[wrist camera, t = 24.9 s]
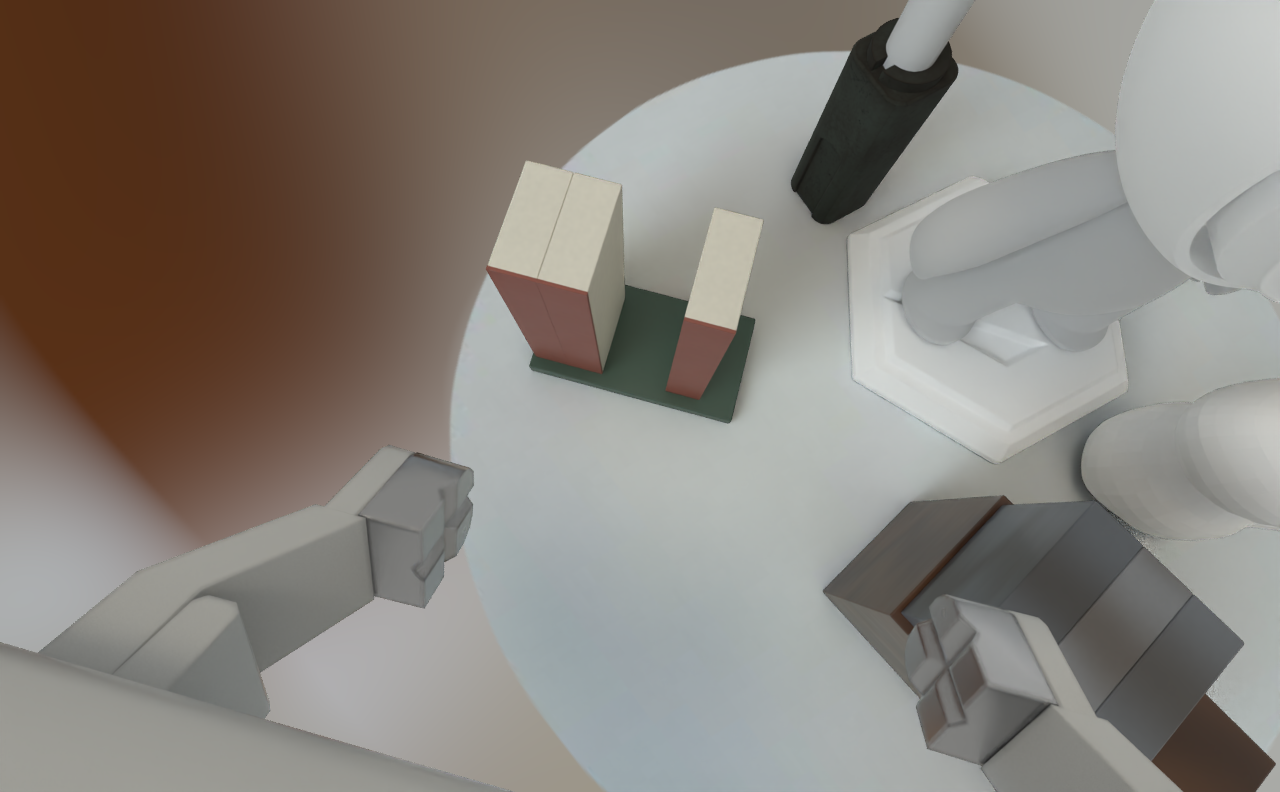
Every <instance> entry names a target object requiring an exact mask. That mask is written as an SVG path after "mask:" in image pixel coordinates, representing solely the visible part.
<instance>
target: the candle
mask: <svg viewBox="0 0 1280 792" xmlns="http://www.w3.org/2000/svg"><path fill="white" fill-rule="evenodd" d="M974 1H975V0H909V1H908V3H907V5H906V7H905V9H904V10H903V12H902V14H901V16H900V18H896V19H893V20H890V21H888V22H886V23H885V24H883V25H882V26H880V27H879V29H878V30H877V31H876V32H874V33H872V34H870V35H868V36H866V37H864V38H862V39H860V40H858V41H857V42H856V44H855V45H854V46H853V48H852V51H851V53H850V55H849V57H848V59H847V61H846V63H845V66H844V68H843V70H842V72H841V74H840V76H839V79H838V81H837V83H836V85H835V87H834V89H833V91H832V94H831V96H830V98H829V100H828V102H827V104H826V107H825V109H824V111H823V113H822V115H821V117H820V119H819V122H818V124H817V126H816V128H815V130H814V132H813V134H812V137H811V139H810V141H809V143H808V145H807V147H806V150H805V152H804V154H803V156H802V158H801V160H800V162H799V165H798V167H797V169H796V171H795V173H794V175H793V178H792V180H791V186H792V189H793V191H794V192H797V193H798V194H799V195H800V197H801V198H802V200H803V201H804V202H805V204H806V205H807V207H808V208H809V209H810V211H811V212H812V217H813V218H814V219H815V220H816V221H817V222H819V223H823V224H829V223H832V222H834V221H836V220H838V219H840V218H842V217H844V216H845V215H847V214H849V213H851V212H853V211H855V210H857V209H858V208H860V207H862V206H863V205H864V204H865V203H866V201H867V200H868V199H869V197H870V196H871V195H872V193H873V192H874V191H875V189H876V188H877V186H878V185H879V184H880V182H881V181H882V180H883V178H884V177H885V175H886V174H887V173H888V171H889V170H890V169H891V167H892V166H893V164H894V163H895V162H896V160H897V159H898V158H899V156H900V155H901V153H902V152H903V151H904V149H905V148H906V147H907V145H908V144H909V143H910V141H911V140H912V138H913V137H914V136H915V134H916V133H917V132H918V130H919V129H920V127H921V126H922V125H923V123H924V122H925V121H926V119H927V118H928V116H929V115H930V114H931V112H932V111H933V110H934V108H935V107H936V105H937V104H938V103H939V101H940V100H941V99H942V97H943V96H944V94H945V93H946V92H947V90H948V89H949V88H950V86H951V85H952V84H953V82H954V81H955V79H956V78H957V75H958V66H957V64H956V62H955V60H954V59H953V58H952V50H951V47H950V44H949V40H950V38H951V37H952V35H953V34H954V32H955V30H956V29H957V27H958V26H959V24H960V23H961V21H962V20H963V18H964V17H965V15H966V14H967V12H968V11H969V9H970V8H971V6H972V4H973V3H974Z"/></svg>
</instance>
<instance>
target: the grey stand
mask: <svg viewBox="0 0 1280 792" xmlns="http://www.w3.org/2000/svg"><path fill="white" fill-rule="evenodd" d="M823 593H824V594H825V595H826V596H827V597H828V598H829V599H830V600H831V601H832V602H833V604H834V605H835V606H836V607H837V608H838V609H839V610H840V611H841V612H842V613H843V615H844V616H845V617H846V618H847V619H848V620H849V621H850V622H851V623H852V624H853V626H854V627H855V628H856V629H857V630H858V631H859V632H860V633H861V634H862V635H863V637H864V638H865V639H866V640H867V641H868V642H869V643H870V644H871V645H872V646H873V647H874V649H875V650H876V651H877V652H878V653H879V654H880V655H881V656H882V657H883V658H884V660H885V661H886V662H887V663H888V664H889V665H890V666H891V667H892V668H893V669H894V671H895V672H896V673H897V674H898V675H899V676H900V677H901V678H902V679H903V680H904V682H905V683H906V684H907V685H908V686H909V687H910V688H911V689H912V690H913V691H914V692H915V694H916V695H917V696H918V697H919V698H921V696H922V695H921V694H920V693H919V692H918V691H917V689H916V688H915V687H914V686H913V684H912V683H911V682H910V681H909V678H908V674H907V670H906V666H905V648H906V643H907V639H908V636H909V634H910V633H911V631H912V630H913V628H914V627H915V625H916V624H917V623H919V622H922V621H925V620H927V619H930V618H932V617H931V613H930V610H929V606H930V605H931V604H932V603H933V601H934V600H935V599H936V598H937V597H939V596H941V595H943V594H947V595H951V596H955V597H959V598H963V599H967V600H970V601H974V602H978V603H982V604H986V605H990V606H994V607H998V608H1001V609H1004V610H1010V611H1014V612H1018V613H1022V614H1026V615H1030V616H1034V617H1038V618H1039V619H1041V620H1042V621H1043V622H1044V623H1045V624H1046V625H1047V626H1048V628H1049V630H1050V632H1051V633H1052V635H1053V637H1054V639H1055V641H1056V643H1057V645H1058V646H1059V648H1060V650H1061V652H1062V654H1063V656H1064V657H1065V659H1066V661H1067V663H1068V665H1069V667H1070V669H1071V670H1072V672H1073V674H1074V676H1075V678H1076V680H1077V681H1078V683H1079V685H1080V687H1081V689H1082V691H1083V692H1084V694H1085V696H1086V698H1087V700H1088V702H1089V704H1090V705H1091V707H1092V709H1093V711H1094V713H1095V715H1096V716H1097V717H1098V718H1102V719H1105V720H1108V721H1109V722H1110V723H1111V724H1112V725H1113V726H1114V727H1115V728H1116V729H1117V730H1118V731H1119V732H1120V733H1121V734H1122V735H1124V736H1125V737H1126V738H1127V739H1128V740H1129V741H1130V742H1131V743H1132V744H1133V745H1134V746H1135V747H1136V748H1137V749H1138V750H1139V751H1141V752H1142V753H1143V754H1144V755H1145V756H1146V757H1147V758H1148V759H1149V760H1150V761H1151V762H1152V763H1153V764H1154V765H1155V766H1156V767H1158V768H1159V769H1160V770H1161V771H1162V772H1163V773H1164V774H1165V775H1166V776H1167V777H1168V778H1169V779H1170V780H1171V781H1172V782H1173V783H1174V784H1176V785H1177V786H1178V787H1179V788H1180V789H1181V790H1182V791H1183V792H1256V790H1257V789H1258V788H1259V787H1260V785H1261V784H1262V783H1263V781H1264V780H1265V778H1266V777H1267V776H1268V774H1269V773H1270V772H1271V770H1272V769H1273V768H1274V766H1275V765H1276V763H1275V762H1274V761H1273V760H1272V759H1271V758H1270V757H1269V756H1268V755H1267V754H1266V753H1265V752H1264V751H1263V750H1262V749H1261V748H1260V747H1259V746H1258V745H1257V744H1256V743H1255V742H1254V741H1253V740H1252V739H1251V738H1250V737H1249V736H1248V735H1247V734H1246V733H1245V732H1244V731H1243V730H1242V729H1241V728H1240V727H1239V726H1238V725H1237V724H1236V723H1235V722H1234V721H1232V720H1231V719H1230V718H1229V717H1228V716H1227V715H1226V714H1225V713H1224V712H1223V711H1222V710H1221V709H1220V708H1219V707H1218V706H1217V705H1216V704H1215V703H1214V702H1213V701H1212V700H1211V699H1210V698H1209V697H1208V696H1207V695H1206V694H1205V693H1206V692H1207V691H1208V689H1209V688H1210V687H1211V685H1212V684H1213V683H1214V682H1215V680H1216V679H1217V678H1218V677H1219V675H1220V674H1221V673H1222V672H1223V670H1224V669H1225V668H1226V667H1227V665H1228V664H1229V663H1230V662H1231V660H1232V659H1233V658H1234V656H1235V655H1236V654H1237V653H1238V651H1239V650H1240V649H1241V648H1242V646H1243V645H1244V642H1243V641H1242V640H1241V639H1240V638H1239V637H1238V636H1237V635H1236V634H1235V633H1234V632H1233V631H1232V630H1231V629H1230V628H1229V627H1228V626H1227V625H1225V624H1224V623H1223V622H1222V621H1221V620H1220V619H1219V618H1218V617H1217V616H1216V615H1215V614H1214V613H1213V612H1212V611H1211V610H1210V609H1209V608H1208V607H1207V606H1206V605H1205V604H1204V603H1202V602H1201V601H1200V600H1199V599H1198V598H1197V597H1196V596H1195V595H1192V592H1191V591H1190V590H1189V589H1188V588H1187V587H1186V586H1185V585H1184V584H1183V583H1182V582H1180V581H1179V580H1178V579H1177V578H1176V577H1175V576H1174V575H1173V574H1172V573H1171V572H1170V571H1169V570H1168V569H1167V568H1166V567H1165V566H1164V565H1163V564H1162V563H1161V562H1160V561H1159V560H1157V559H1156V558H1155V557H1154V556H1153V555H1152V554H1151V553H1150V552H1149V551H1148V550H1147V549H1146V548H1144V547H1143V545H1142V544H1141V543H1140V542H1139V541H1138V540H1137V539H1136V538H1135V537H1134V536H1132V535H1131V534H1130V533H1129V532H1128V531H1127V530H1126V529H1125V528H1124V527H1123V526H1122V525H1121V524H1120V523H1119V522H1118V521H1117V520H1116V519H1115V518H1114V517H1113V516H1112V515H1110V514H1109V513H1108V512H1107V511H1106V510H1105V509H1104V508H1103V507H1102V506H1101V505H1100V504H1099V503H1098V502H1097V501H1079V502H1058V503H1037V504H1017V505H1014V504H1012V503H1011V502H1010V501H1009V500H1008V499H1007V498H1006V497H1005V496H1004V495H1001V496H987V497H974V498H960V499H947V500H933V501H920V502H910V503H909V504H908V505H907V506H906V507H905V508H904V509H903V510H902V511H901V512H900V513H899V514H898V515H897V516H896V517H895V518H894V519H893V520H892V521H891V522H890V523H889V524H888V525H887V526H886V527H885V528H884V529H883V530H882V531H881V533H880V534H879V535H878V536H877V537H876V538H875V539H874V540H873V541H872V542H871V543H870V544H869V545H868V546H867V547H866V548H865V549H864V550H863V551H862V552H861V553H860V554H859V555H858V556H857V557H856V558H855V559H854V560H853V561H852V562H851V563H850V564H849V565H848V566H847V567H846V568H845V569H844V570H843V571H842V572H841V573H840V574H839V575H838V576H837V577H836V578H835V579H834V580H833V581H832V582H831V583H830V584H829V585H828V586H827V587H826V588H825V589H824V590H823ZM981 766H982V765H981Z"/></svg>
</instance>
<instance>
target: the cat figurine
mask: <svg viewBox="0 0 1280 792" xmlns="http://www.w3.org/2000/svg"><path fill="white" fill-rule="evenodd" d="M1081 473H1082V479H1083V481H1084V483H1085V485H1086V488H1087V489H1088V490H1089V491H1090V493H1091V494H1092V495H1093V496H1094V497H1095V498H1096V499H1097V500H1098V501H1099V502H1100V503H1101V504H1103V505H1104V506H1105V507H1106V508H1107V509H1109V510H1110V511H1111V512H1113V513H1114V514H1116V515H1117V516H1118V517H1120V518H1121V519H1122V520H1124V521H1125V522H1126V523H1128V524H1129V525H1130V526H1132V527H1134V528H1136V529H1137V530H1139V531H1141V532H1143V533H1146V534H1149V535H1153V536H1157V537H1160V538H1164V539H1172V540H1191V541H1196V540H1206V539H1218V538H1223V537H1227V536H1230V535H1233V534H1235V533H1236V532H1238V531H1240V530H1242V529H1243V528H1245V527H1251V528H1258V529H1267V530H1277V531H1280V378H1274V379H1265V380H1256V381H1249V382H1243V383H1239V384H1234V385H1230V386H1226V387H1223V388H1219V389H1216V390H1214V391H1212V392H1210V393H1207V394H1205V395H1204V396H1202V397H1201V398H1199V399H1198V400H1196V401H1195V402H1193V403H1189V402H1170V403H1159V404H1154V405H1150V406H1145V407H1141V408H1137V409H1132V410H1128V411H1126V412H1123V413H1121V414H1118V415H1116V416H1114V417H1111V418H1109V419H1107V420H1105V421H1104V422H1102V423H1101V424H1100V425H1099V426H1098V427H1097V428H1096V429H1095V430H1094V431H1093V432H1092V433H1091V434H1090V436H1089V438H1088V439H1087V441H1086V444H1085V447H1084V450H1083V455H1082V461H1081Z"/></svg>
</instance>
